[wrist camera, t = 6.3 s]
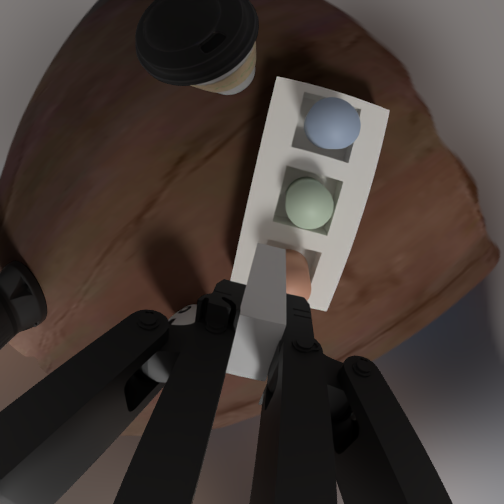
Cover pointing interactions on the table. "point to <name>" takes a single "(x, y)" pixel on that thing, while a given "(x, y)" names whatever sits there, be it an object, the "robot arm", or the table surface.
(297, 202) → the sage cap
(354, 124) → the slate cap
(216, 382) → the robot arm
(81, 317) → the table surface
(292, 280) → the terracotta cap
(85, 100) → the table surface
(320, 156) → the button board
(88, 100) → the table surface
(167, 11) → the coffee cup
